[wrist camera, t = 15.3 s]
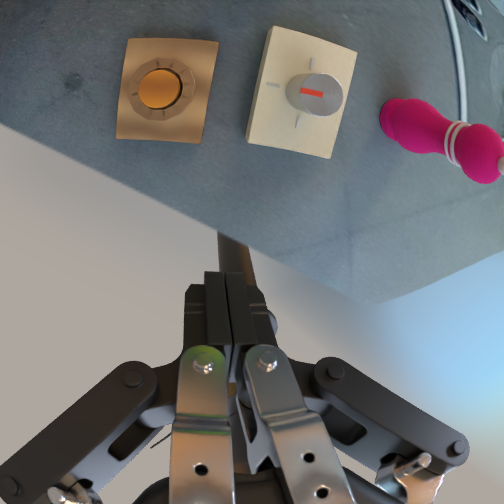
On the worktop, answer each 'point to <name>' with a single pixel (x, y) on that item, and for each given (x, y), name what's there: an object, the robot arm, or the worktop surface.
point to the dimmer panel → (274, 92)
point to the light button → (159, 89)
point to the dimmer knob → (315, 94)
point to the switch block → (190, 96)
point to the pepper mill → (444, 138)
